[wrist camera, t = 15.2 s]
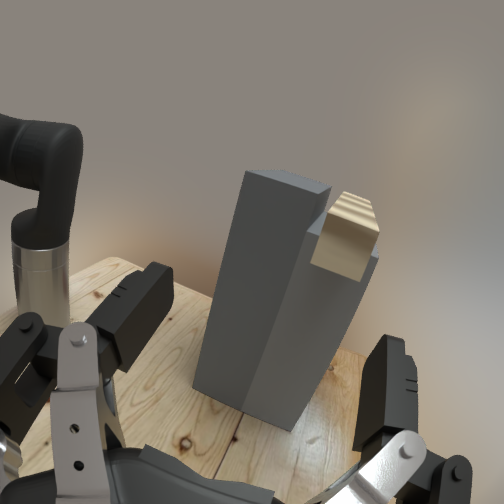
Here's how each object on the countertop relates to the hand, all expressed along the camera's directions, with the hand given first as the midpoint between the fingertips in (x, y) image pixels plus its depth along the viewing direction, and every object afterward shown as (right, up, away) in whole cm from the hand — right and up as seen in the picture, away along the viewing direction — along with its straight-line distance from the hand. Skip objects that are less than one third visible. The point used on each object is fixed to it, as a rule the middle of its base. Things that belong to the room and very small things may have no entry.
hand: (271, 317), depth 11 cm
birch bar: (+9, +4, +22) cm, 25 cm away
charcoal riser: (0, -19, +38) cm, 42 cm away
